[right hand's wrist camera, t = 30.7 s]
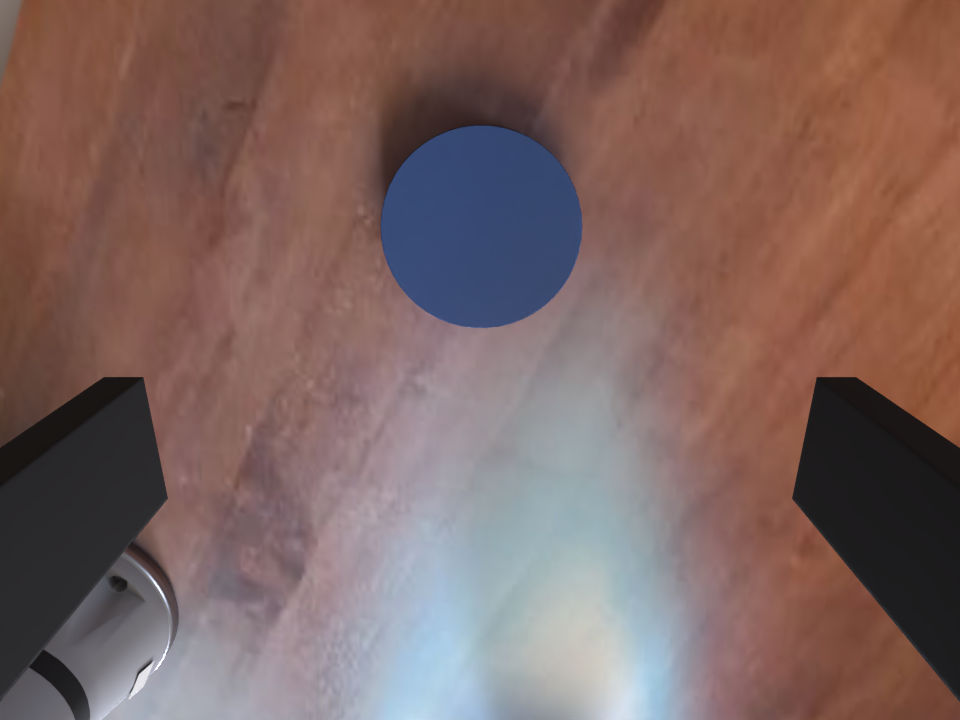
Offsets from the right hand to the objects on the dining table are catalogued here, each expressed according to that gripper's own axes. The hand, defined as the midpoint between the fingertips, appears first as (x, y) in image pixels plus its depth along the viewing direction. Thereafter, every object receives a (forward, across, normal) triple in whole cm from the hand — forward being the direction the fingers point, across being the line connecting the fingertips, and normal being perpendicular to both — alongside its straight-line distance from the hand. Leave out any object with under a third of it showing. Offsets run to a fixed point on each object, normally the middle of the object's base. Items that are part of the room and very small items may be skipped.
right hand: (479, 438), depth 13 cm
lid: (+25, 0, 0) cm, 25 cm away
